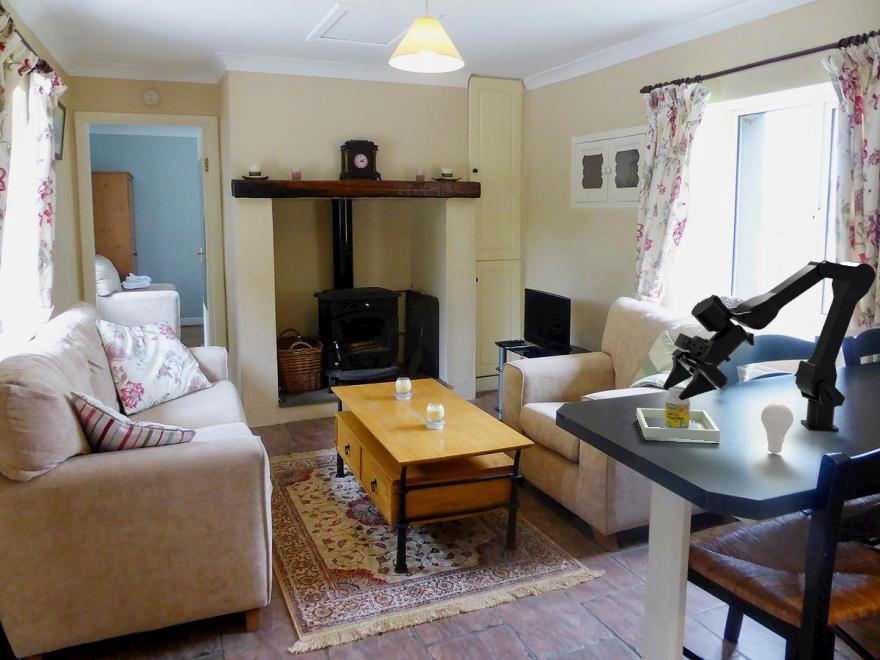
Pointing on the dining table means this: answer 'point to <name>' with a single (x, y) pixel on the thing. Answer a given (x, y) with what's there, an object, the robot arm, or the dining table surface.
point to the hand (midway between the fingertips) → (671, 393)
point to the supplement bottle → (677, 409)
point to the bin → (699, 416)
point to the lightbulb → (776, 425)
